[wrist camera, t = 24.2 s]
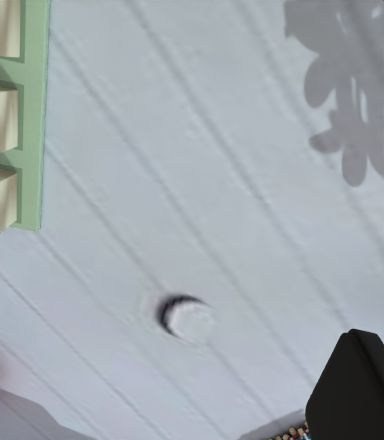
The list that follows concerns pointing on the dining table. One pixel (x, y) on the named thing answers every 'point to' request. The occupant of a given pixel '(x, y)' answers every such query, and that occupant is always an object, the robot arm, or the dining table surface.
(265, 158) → the dining table surface
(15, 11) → the tile
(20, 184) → the word board
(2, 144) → the tile
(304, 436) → the woven mat
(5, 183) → the tile
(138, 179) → the dining table surface
